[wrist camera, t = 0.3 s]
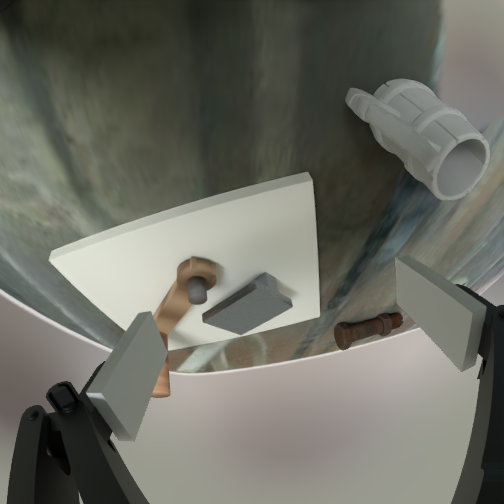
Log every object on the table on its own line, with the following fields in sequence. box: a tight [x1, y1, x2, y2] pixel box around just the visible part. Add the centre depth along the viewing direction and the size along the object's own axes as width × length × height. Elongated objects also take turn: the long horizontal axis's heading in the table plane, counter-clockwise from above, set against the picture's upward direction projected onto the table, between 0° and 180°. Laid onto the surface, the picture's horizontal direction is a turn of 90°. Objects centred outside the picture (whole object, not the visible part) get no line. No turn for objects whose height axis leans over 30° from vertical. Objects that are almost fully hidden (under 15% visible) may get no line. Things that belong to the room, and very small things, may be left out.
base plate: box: [49, 172, 320, 351], centre depth 38 cm, size 28×30×2 cm
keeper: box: [202, 272, 293, 335], centre depth 38 cm, size 9×7×5 cm
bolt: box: [334, 313, 403, 350], centre depth 56 cm, size 6×5×15 cm
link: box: [151, 257, 217, 398], centre depth 34 cm, size 19×4×10 cm, turn 147°
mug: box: [345, 79, 490, 201], centre depth 18 cm, size 8×12×12 cm, turn 74°
